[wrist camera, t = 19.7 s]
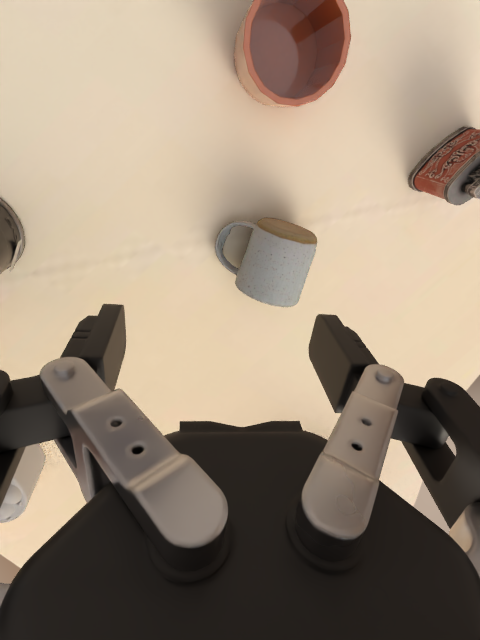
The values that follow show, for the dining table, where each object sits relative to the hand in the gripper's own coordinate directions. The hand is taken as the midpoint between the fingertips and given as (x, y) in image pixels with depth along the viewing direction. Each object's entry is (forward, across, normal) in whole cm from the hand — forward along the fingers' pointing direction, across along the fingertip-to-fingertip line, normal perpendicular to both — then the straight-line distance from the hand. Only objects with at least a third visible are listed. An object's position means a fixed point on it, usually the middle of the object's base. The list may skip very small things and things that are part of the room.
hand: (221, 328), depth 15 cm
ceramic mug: (+28, -7, +6) cm, 30 cm away
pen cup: (+28, -6, -13) cm, 32 cm away
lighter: (+28, -26, -6) cm, 39 cm away
